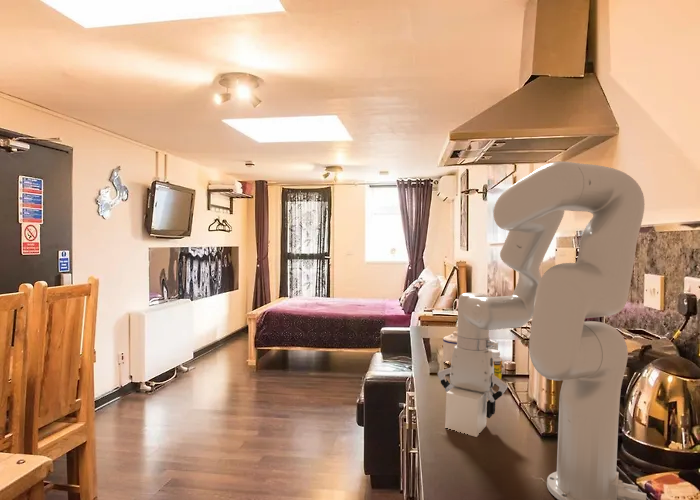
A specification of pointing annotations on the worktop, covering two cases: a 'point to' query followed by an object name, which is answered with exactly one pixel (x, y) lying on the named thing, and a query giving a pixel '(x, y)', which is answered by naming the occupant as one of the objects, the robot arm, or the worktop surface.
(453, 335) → the teacup with lid
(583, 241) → the robot arm
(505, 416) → the worktop surface
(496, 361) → the supplement bottle
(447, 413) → the cream matte cube
